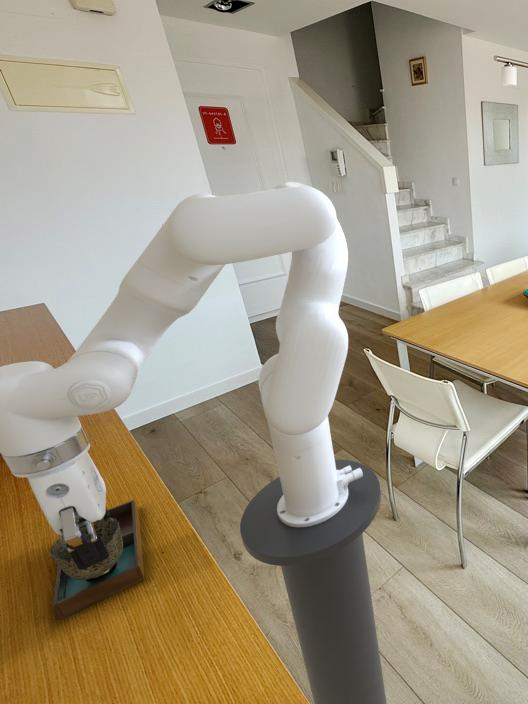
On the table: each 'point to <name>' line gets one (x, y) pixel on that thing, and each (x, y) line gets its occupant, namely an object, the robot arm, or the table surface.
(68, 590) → the tray
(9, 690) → the table surface
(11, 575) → the table surface
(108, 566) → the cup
